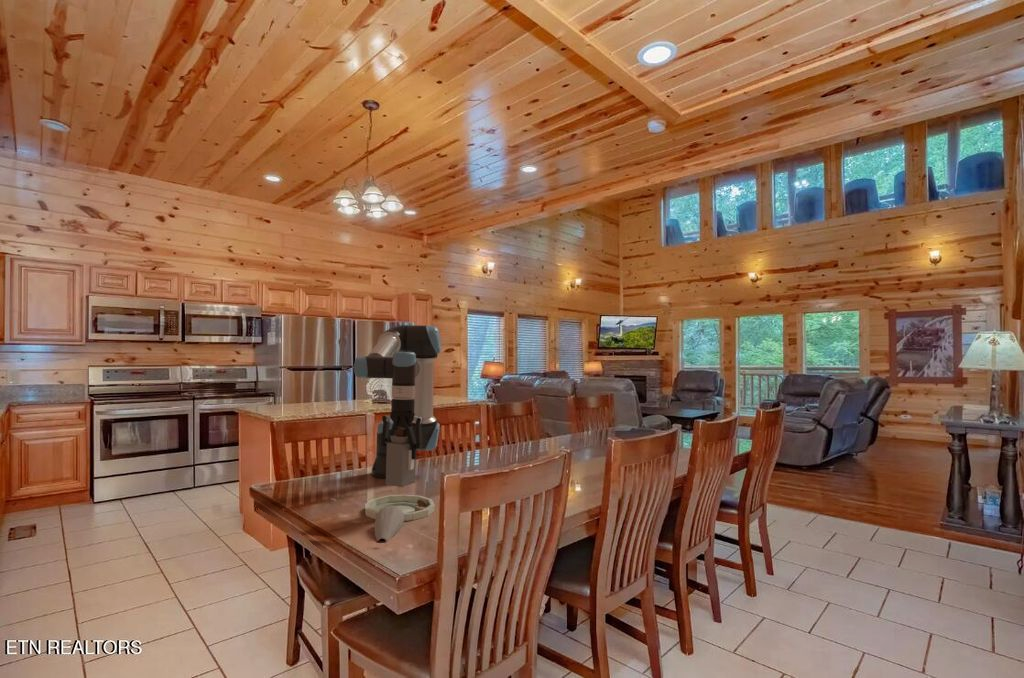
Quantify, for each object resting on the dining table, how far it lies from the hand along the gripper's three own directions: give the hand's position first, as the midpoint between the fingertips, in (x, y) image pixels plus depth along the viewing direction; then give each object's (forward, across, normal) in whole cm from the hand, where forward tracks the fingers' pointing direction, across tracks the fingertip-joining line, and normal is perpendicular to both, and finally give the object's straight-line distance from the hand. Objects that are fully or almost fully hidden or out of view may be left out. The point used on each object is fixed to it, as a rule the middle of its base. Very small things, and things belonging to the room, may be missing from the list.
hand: (401, 468), depth 170 cm
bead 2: (+14, +8, -2) cm, 16 cm away
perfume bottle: (+5, 0, 0) cm, 5 cm away
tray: (+15, 0, 0) cm, 15 cm away
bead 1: (+14, +5, +6) cm, 16 cm away
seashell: (+15, +5, -18) cm, 24 cm away
